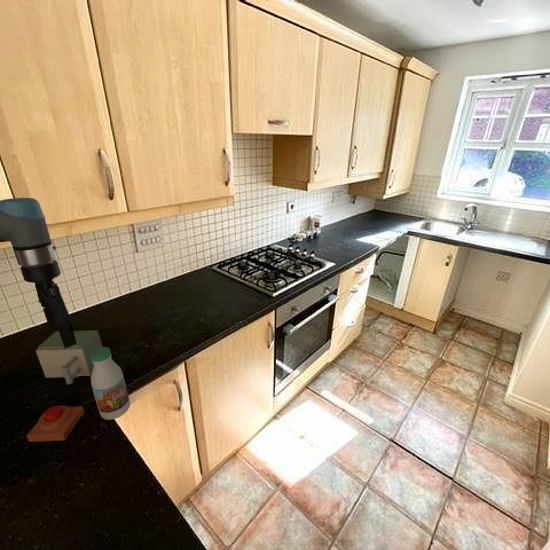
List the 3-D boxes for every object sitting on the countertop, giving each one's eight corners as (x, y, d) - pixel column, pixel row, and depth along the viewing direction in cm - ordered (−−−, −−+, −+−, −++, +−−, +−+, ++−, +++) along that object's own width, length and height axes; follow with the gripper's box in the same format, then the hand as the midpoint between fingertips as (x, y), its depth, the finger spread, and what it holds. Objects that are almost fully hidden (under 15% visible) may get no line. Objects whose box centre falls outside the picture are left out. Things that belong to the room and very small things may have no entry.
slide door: (31, 392, 91) (20, 363, 87) (47, 376, 97) (37, 349, 93) (78, 390, 91) (69, 362, 87) (91, 374, 98) (83, 347, 94)
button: (42, 422, 77) (40, 417, 77) (51, 411, 81) (49, 406, 80) (57, 421, 78) (55, 416, 77) (65, 410, 81) (63, 405, 80)
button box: (28, 441, 76) (23, 430, 75) (51, 413, 85) (47, 402, 83) (65, 440, 77) (60, 428, 75) (84, 412, 85) (80, 401, 83)
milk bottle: (94, 416, 84) (75, 356, 76) (116, 396, 90) (101, 340, 83) (114, 424, 81) (97, 363, 73) (136, 403, 88) (122, 346, 80)
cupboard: (48, 378, 98) (37, 347, 94) (65, 360, 106) (55, 331, 102) (92, 376, 99) (83, 345, 94) (105, 359, 107) (97, 330, 102)
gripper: (72, 270, 69) (94, 347, 77) (43, 249, 84) (64, 315, 92) (32, 280, 64) (60, 362, 72) (9, 256, 79) (34, 325, 87)
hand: (62, 336), depth 82 cm, fingers open, 13 cm apart
